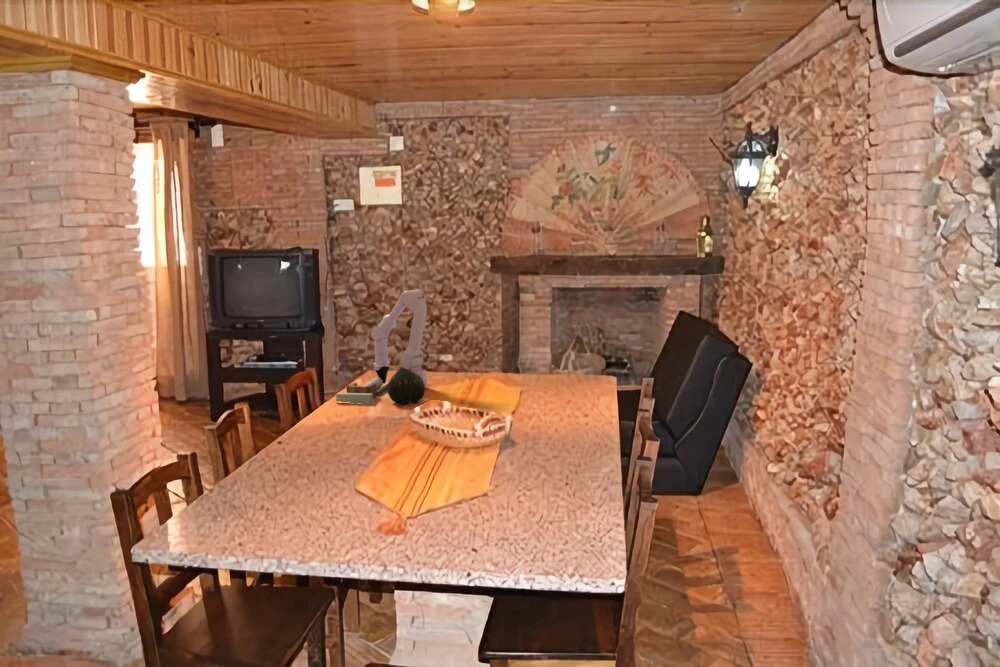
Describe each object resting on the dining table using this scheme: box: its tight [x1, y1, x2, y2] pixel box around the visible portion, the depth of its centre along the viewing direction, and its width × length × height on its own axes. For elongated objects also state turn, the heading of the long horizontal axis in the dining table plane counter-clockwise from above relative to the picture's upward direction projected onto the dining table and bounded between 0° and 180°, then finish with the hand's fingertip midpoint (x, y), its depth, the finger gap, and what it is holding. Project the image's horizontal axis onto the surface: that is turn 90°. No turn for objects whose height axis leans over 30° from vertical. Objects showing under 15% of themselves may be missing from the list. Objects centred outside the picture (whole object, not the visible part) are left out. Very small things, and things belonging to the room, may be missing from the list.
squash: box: [387, 367, 426, 405], centre depth 314 cm, size 14×15×15 cm
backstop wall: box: [335, 392, 374, 405], centre depth 315 cm, size 15×2×4 cm, turn 78°
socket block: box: [346, 382, 378, 400], centre depth 323 cm, size 10×8×6 cm
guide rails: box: [377, 383, 388, 397], centre depth 340 cm, size 10×24×2 cm, turn 168°
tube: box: [363, 377, 384, 390], centre depth 334 cm, size 5×5×25 cm
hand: (382, 383), depth 347 cm, fingers closed
